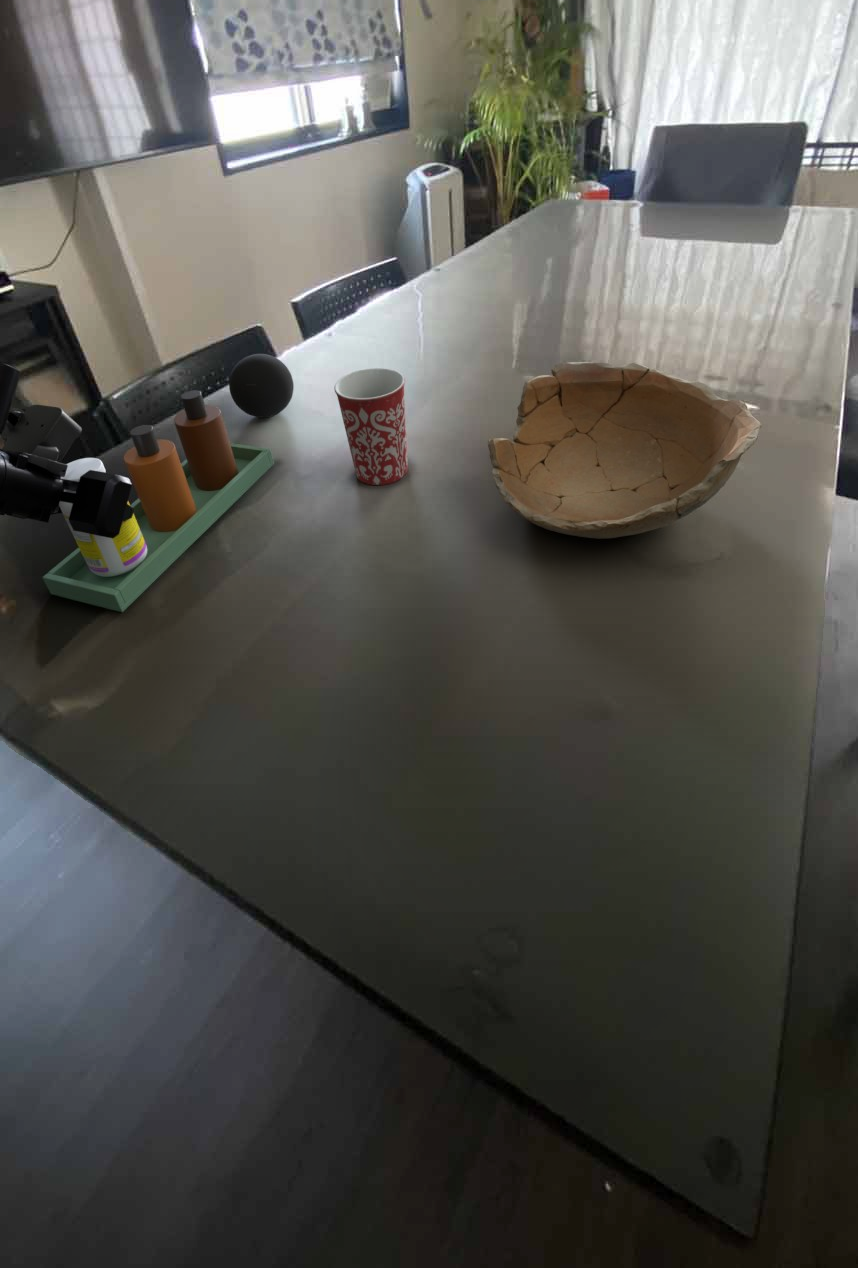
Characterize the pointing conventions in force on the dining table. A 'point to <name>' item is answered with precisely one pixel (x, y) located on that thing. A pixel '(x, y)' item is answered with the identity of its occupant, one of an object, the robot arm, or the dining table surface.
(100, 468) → the supplement bottle
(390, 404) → the mug
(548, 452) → the ceramic bowl
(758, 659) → the dining table surface
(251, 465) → the tray
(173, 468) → the amber bottle
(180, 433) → the dark amber bottle
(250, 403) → the speaker
